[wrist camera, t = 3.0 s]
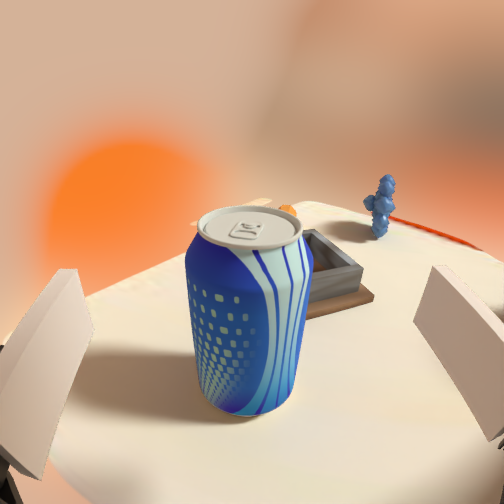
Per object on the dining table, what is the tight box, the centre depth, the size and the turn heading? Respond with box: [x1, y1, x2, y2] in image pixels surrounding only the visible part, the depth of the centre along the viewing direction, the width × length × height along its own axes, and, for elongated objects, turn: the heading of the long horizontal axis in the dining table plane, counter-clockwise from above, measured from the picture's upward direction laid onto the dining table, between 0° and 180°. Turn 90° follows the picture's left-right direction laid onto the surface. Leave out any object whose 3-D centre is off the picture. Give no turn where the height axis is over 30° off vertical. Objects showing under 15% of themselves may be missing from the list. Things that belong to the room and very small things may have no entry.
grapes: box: [363, 174, 395, 238], centre depth 57 cm, size 12×7×12 cm, turn 154°
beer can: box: [185, 205, 314, 417], centre depth 23 cm, size 8×8×16 cm
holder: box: [302, 229, 374, 320], centre depth 42 cm, size 16×16×4 cm
